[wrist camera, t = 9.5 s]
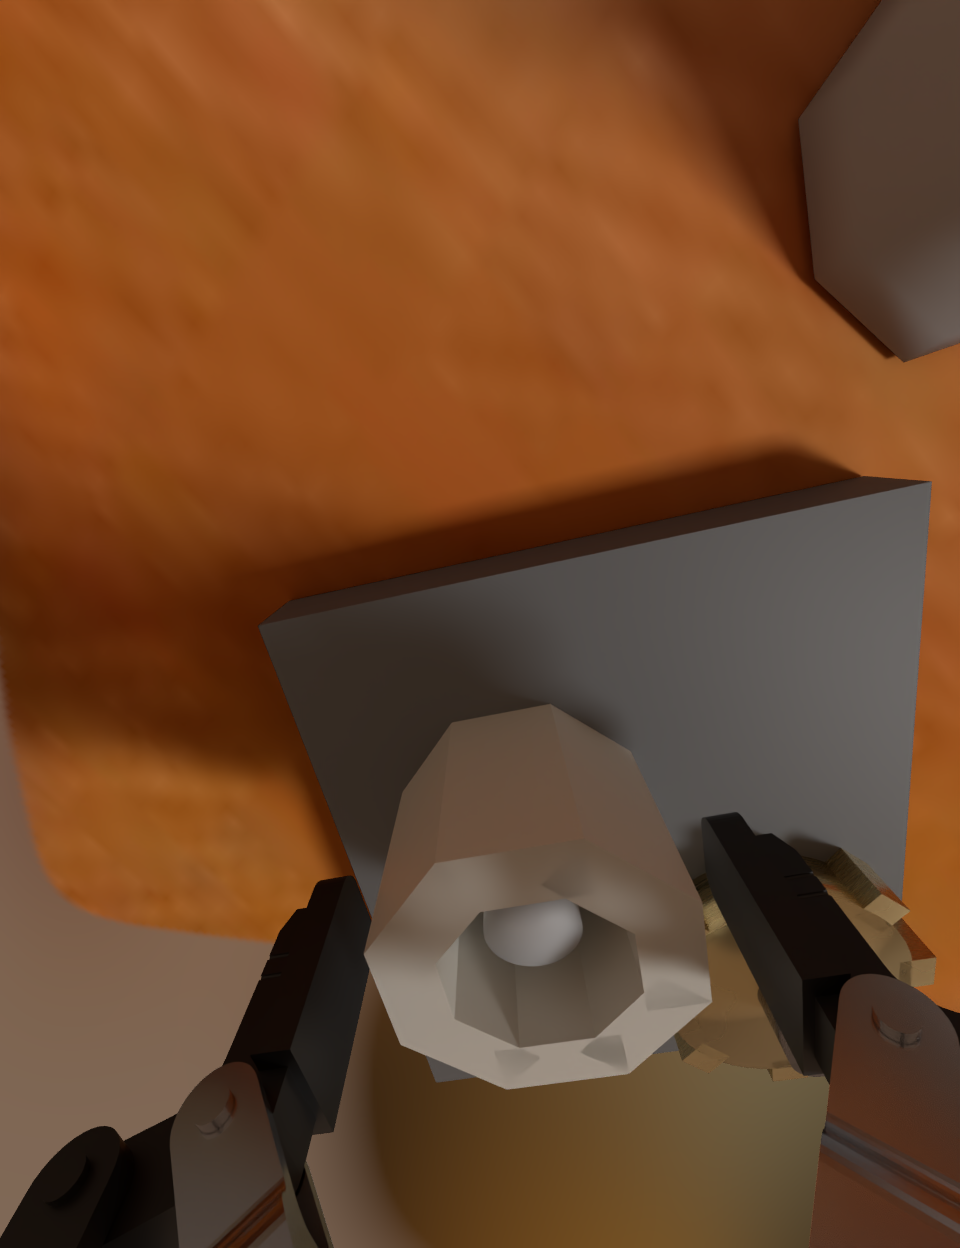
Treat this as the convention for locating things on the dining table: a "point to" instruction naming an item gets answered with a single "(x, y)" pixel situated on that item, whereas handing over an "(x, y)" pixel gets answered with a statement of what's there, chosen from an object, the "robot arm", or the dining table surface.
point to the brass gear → (738, 1008)
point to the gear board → (642, 677)
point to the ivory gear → (527, 874)
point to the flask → (891, 176)
